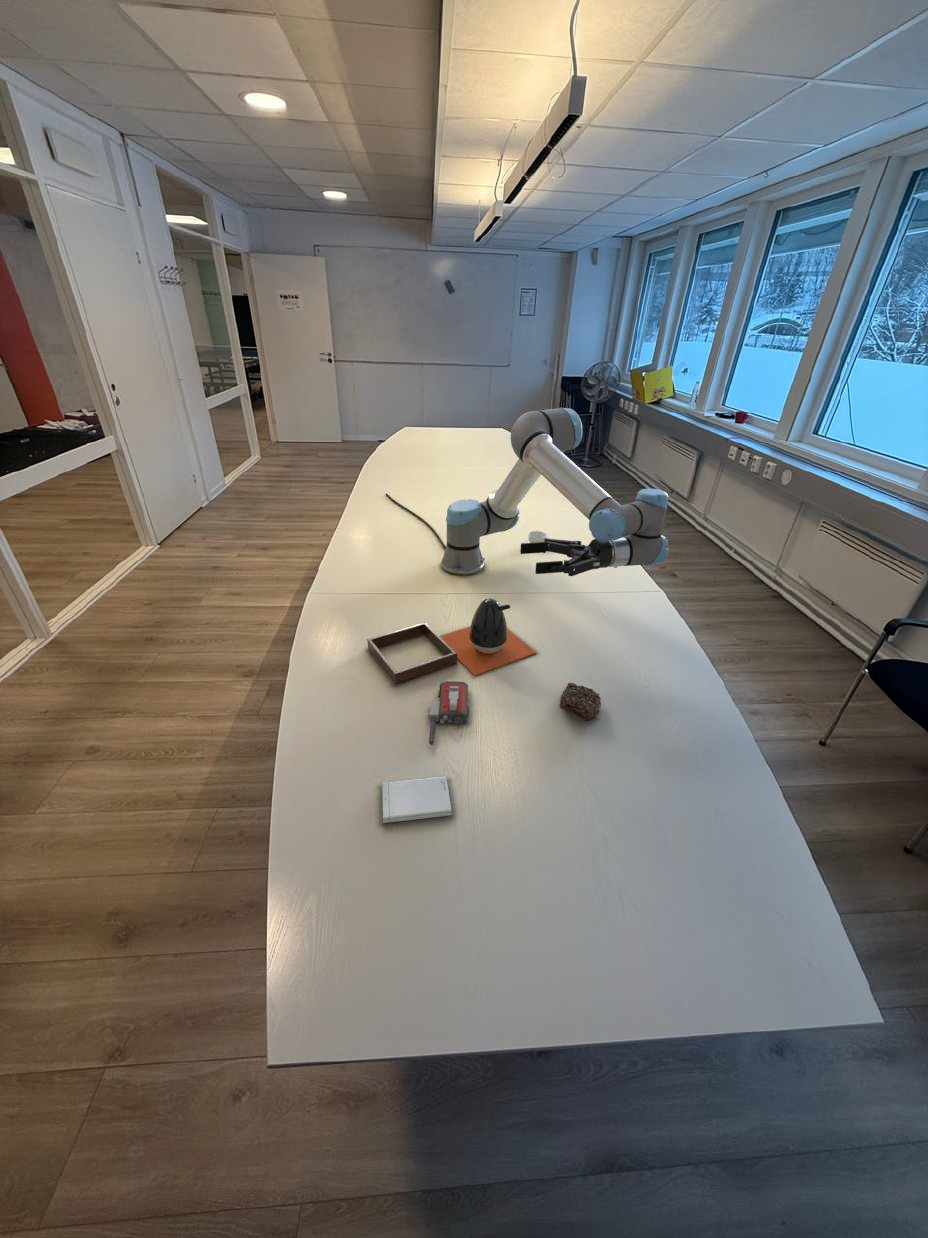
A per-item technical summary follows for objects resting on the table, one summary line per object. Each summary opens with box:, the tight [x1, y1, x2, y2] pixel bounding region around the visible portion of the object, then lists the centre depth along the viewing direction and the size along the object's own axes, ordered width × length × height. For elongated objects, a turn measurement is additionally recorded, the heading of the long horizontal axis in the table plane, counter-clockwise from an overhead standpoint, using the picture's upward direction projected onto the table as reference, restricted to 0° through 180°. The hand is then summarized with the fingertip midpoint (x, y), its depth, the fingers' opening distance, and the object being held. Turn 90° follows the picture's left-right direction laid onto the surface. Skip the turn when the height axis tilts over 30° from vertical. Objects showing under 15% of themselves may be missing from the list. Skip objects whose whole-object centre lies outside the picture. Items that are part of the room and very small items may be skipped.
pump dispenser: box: [469, 597, 511, 654], centre depth 133 cm, size 10×10×15 cm
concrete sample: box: [559, 682, 602, 722], centre depth 116 cm, size 12×10×5 cm
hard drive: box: [381, 775, 453, 824], centre depth 94 cm, size 2×8×12 cm
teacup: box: [524, 530, 550, 543], centre depth 198 cm, size 10×10×5 cm
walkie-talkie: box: [428, 680, 469, 746], centre depth 113 cm, size 9×4×20 cm
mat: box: [439, 626, 537, 677], centre depth 138 cm, size 20×20×1 cm
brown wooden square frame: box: [366, 621, 458, 686], centre depth 132 cm, size 18×18×4 cm
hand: (528, 558), depth 126 cm, fingers open, 13 cm apart
